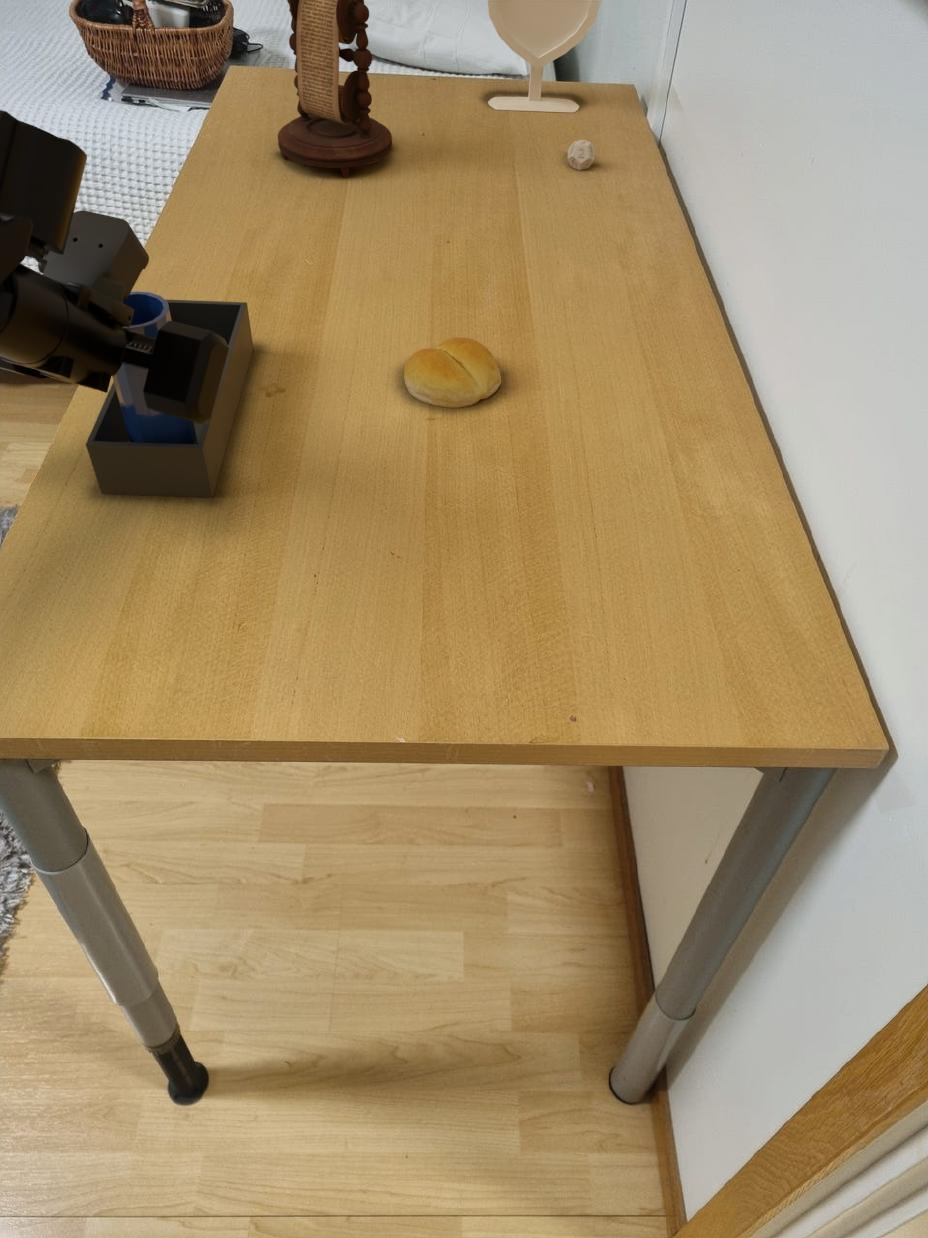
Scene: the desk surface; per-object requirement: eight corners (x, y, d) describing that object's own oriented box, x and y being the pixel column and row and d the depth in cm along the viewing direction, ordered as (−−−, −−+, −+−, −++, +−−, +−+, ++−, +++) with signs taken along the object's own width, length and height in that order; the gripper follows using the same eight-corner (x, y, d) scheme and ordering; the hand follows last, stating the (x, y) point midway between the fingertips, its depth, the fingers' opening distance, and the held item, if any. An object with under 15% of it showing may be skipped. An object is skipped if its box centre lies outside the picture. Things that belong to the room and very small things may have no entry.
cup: (174, 487, 77) (137, 335, 66) (124, 467, 78) (79, 315, 68) (213, 453, 80) (182, 302, 69) (164, 434, 81) (127, 284, 71)
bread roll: (388, 380, 89) (387, 342, 86) (465, 353, 93) (466, 316, 90) (437, 424, 85) (437, 386, 82) (515, 393, 88) (518, 356, 85)
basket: (213, 502, 76) (202, 448, 72) (102, 498, 76) (85, 444, 72) (254, 353, 91) (246, 302, 87) (161, 350, 91) (149, 298, 87)
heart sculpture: (481, 108, 136) (489, -39, 123) (480, 96, 139) (487, -49, 126) (587, 112, 137) (606, -34, 123) (583, 100, 140) (601, -44, 127)
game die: (560, 166, 124) (563, 142, 121) (577, 158, 125) (580, 135, 123) (581, 174, 122) (584, 150, 120) (598, 166, 124) (602, 142, 122)
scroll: (256, 161, 121) (234, -21, 106) (322, 125, 130) (311, -48, 115) (351, 189, 116) (342, 4, 101) (413, 150, 125) (413, -26, 110)
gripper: (189, 222, 57) (292, 303, 72) (-62, 165, 60) (86, 254, 76) (143, 400, 57) (254, 444, 73) (-102, 333, 61) (53, 387, 77)
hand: (160, 377), depth 74 cm, fingers open, 9 cm apart
